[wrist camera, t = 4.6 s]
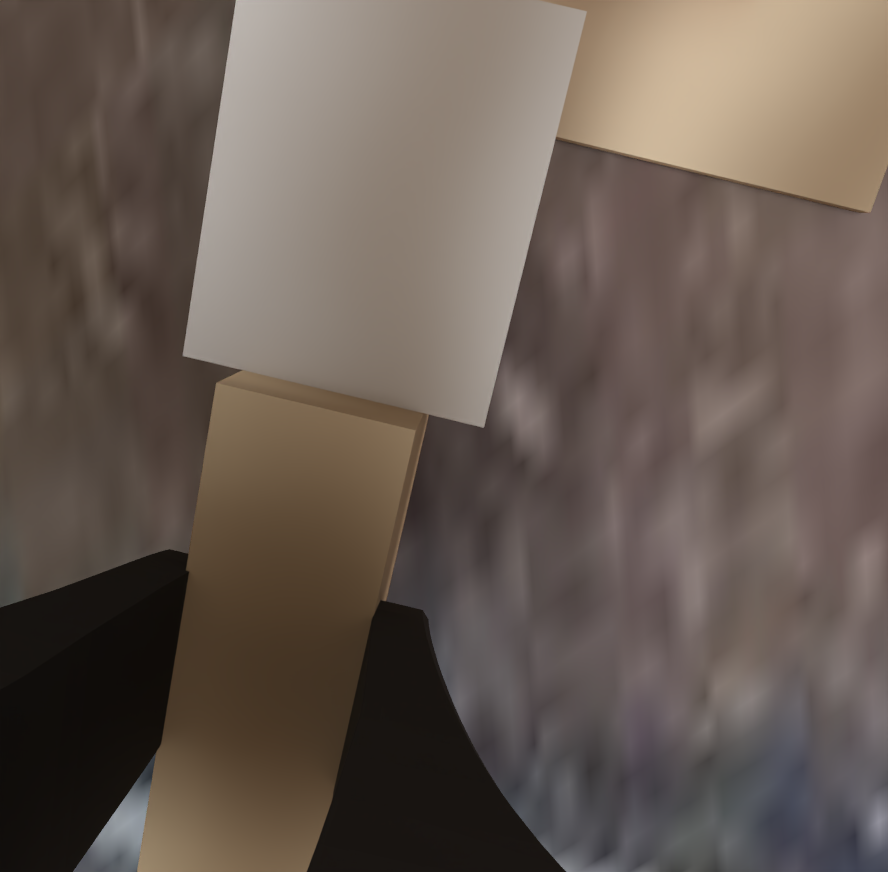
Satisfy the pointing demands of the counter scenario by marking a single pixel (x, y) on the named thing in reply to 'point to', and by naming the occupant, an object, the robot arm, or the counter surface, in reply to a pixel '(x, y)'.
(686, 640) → the counter surface
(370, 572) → the turner
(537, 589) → the counter surface
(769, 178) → the cork mat
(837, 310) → the counter surface
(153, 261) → the counter surface
